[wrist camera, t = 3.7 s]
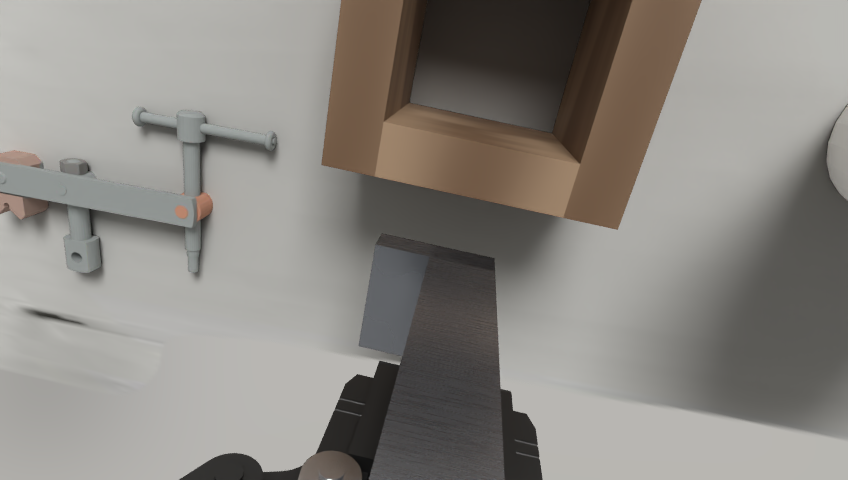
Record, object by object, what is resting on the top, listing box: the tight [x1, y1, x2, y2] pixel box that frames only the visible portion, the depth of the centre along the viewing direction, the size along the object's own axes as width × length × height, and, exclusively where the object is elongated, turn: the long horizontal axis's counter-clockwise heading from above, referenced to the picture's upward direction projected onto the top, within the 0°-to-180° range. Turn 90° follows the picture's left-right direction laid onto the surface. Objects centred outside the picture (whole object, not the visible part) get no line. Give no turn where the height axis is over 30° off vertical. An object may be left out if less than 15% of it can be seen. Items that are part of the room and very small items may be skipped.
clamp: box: [0, 107, 277, 273], centre depth 27 cm, size 15×2×10 cm
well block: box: [322, 0, 702, 230], centre depth 19 cm, size 11×11×7 cm
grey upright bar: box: [359, 234, 505, 480], centre depth 14 cm, size 4×4×12 cm
